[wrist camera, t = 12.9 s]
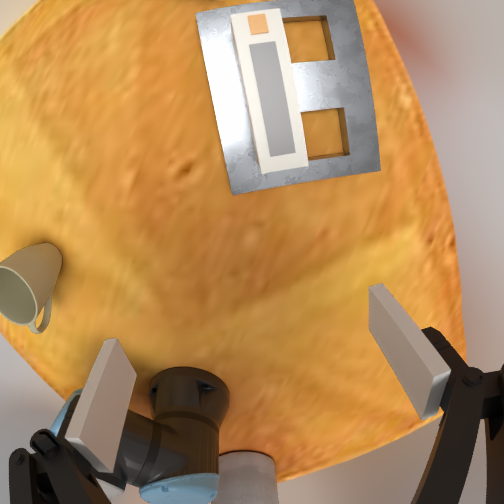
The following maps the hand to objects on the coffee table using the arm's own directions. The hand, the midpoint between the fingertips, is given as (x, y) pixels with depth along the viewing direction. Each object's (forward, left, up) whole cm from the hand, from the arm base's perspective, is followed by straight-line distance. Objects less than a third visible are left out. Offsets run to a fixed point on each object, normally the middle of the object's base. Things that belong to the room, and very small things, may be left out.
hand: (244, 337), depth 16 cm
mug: (-31, -4, -28) cm, 42 cm away
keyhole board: (+8, +12, -28) cm, 32 cm away
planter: (-13, -66, -28) cm, 73 cm away
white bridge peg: (+5, +12, -28) cm, 31 cm away
